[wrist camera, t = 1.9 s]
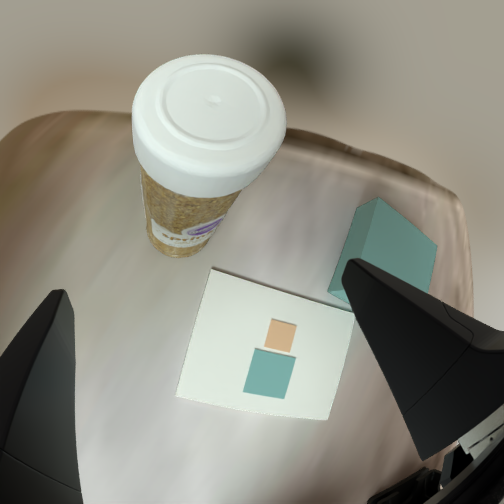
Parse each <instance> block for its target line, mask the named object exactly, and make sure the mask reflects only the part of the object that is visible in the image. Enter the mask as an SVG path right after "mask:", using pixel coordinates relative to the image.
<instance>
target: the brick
mask: <svg viewBox="0 0 504 504" xmlns="http://www.w3.org/2000/svg"><path fill="white" fill-rule="evenodd" d="M436 251H437V245H436V244H435V243H433V242H432V241H431V240H430V239H429V238H428V237H427V236H426V235H424V234H423V233H422V232H421V231H420V230H419V229H417V228H416V227H415V226H414V225H413V224H412V223H410V222H409V221H408V220H407V219H406V218H404V217H403V216H402V215H401V214H399V213H398V212H397V211H396V210H394V209H393V208H392V207H391V206H389V205H388V204H387V203H386V202H384V201H383V200H382V199H380V198H379V197H377V198H375V199H373V200H371V201H369V202H367V203H365V204H364V205H362V206H360V207H358V208H357V209H356V213H355V216H354V219H353V222H352V225H351V228H350V231H349V234H348V237H347V240H346V243H345V245H344V248H343V251H342V254H341V257H340V259H339V262H338V265H337V268H336V270H335V273H334V276H333V278H332V281H331V284H330V286H329V289H328V292H329V293H331V294H332V295H334V296H336V297H338V298H340V299H341V300H343V301H345V302H347V303H349V300H348V298H347V295H346V293H345V290H344V288H343V286H342V282H341V277H342V274H343V271H344V269H345V266H346V263H347V261H348V260H349V259H352V258H361V259H363V260H365V261H367V262H369V263H371V264H373V265H375V266H377V267H379V268H380V269H382V270H384V271H386V272H388V273H390V274H392V275H394V276H396V277H398V278H399V279H401V280H403V281H405V282H407V283H409V284H411V285H413V286H414V287H416V288H418V289H420V290H422V291H424V292H426V293H427V294H428V290H429V285H430V281H431V276H432V272H433V267H434V262H435V256H436ZM349 304H350V303H349Z"/></svg>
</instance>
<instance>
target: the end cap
mask: <svg viewBox="0 0 504 504" xmlns="http://www.w3.org/2000/svg"><path fill="white" fill-rule="evenodd" d="M441 473H442V472H441V471H439V470H436V469H433V470H430V471H429V469H428V468H426V467H424V468H422V469H420V470H419V471H417V472H416V473H414V474H412V475H411V476H409V477H407V478H406V479H404V480H402V481H401V482H399V483H397V484H395V485H394V486H392V487H390V488H388V489H386V490H384V491H382V492H381V493H379V494H377V495H375V496H373V497H371V498H370V499H369V500H368V502H367V504H424V503H425V502H426V501H428V500H429V499H430V498H431V497H433V496H434V495H435V494H437V493H438V492H439V491H440V485H441V483H440V478H441Z"/></svg>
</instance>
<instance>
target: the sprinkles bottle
mask: <svg viewBox="0 0 504 504" xmlns="http://www.w3.org/2000/svg"><path fill="white" fill-rule="evenodd" d="M286 126H287V119H286V111H285V107H284V104H283V102H282V100H281V97H280V95H279V93H278V92H277V90H276V89H275V87H274V86H273V85H272V84H271V83H270V82H269V81H268V80H267V79H266V78H265V77H264V76H263V75H262V74H261V73H259V72H258V71H256V70H255V69H253V68H252V67H250V66H248V65H246V64H244V63H242V62H240V61H237V60H234V59H231V58H228V57H224V56H218V55H207V54H201V55H200V54H198V55H190V56H184V57H180V58H177V59H174V60H171V61H169V62H167V63H165V64H163V65H161V66H160V67H158V68H157V69H155V70H154V71H153V72H152V73H151V74H149V75H148V77H147V78H146V79H145V80H144V81H143V82H142V84H141V85H140V87H139V89H138V91H137V93H136V95H135V98H134V102H133V107H132V133H133V144H134V149H135V153H136V155H137V157H138V160H139V162H140V164H141V173H140V184H141V192H142V200H143V206H144V213H145V218H146V220H147V227H146V229H147V233H148V237H149V239H150V241H151V243H152V244H153V246H154V247H155V248H156V249H157V250H159V251H160V252H162V253H163V254H165V255H167V256H170V257H176V258H181V257H189V256H192V255H194V254H196V253H198V252H199V251H200V250H201V249H202V248H203V247H204V246H205V245H206V243H207V242H208V240H209V238H210V236H211V235H212V234H213V232H214V231H215V230H216V228H217V227H218V225H219V224H220V222H221V221H222V220H223V218H224V217H225V215H226V213H227V211H228V209H229V208H230V206H231V205H232V204H233V202H234V201H235V199H236V197H237V196H238V195H239V193H240V192H241V190H242V189H243V188H245V187H246V186H248V185H249V184H250V183H251V182H253V181H254V180H255V179H256V178H257V177H258V176H259V175H260V174H261V172H262V171H263V170H264V169H265V167H266V166H267V165H268V163H269V162H270V161H271V159H272V158H273V157H274V155H275V154H276V153H277V151H278V150H279V148H280V146H281V144H282V142H283V140H284V137H285V133H286Z"/></svg>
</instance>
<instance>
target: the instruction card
mask: <svg viewBox="0 0 504 504" xmlns="http://www.w3.org/2000/svg"><path fill="white" fill-rule="evenodd" d="M354 320H355V315H354V313H351V312H348V311H344V310H341V309H337V308H334V307H331V306H327V305H324V304H321V303H317V302H314V301H311V300H307V299H304V298H301V297H298V296H294V295H291V294H288V293H285V292H281V291H278V290H275V289H272V288H269V287H266V286H262V285H259V284H256V283H253V282H250V281H247V280H244V279H240V278H237V277H234V276H231V275H228V274H225V273H222V272H219V271H216V270H213V269H211V270H210V274H209V277H208V280H207V284H206V287H205V290H204V294H203V297H202V301H201V304H200V307H199V311H198V314H197V318H196V321H195V325H194V328H193V332H192V335H191V339H190V343H189V346H188V350H187V353H186V357H185V361H184V364H183V368H182V372H181V375H180V379H179V383H178V387H177V391H176V394H175V396H178V397H182V398H186V399H190V400H194V401H198V402H203V403H207V404H212V405H217V406H222V407H227V408H232V409H237V410H243V411H249V412H256V413H262V414H269V415H277V416H285V417H294V418H304V419H317V420H328V417H329V414H330V410H331V407H332V404H333V401H334V397H335V394H336V391H337V387H338V384H339V380H340V377H341V373H342V369H343V366H344V362H345V358H346V354H347V350H348V346H349V342H350V338H351V333H352V329H353V325H354Z"/></svg>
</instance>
